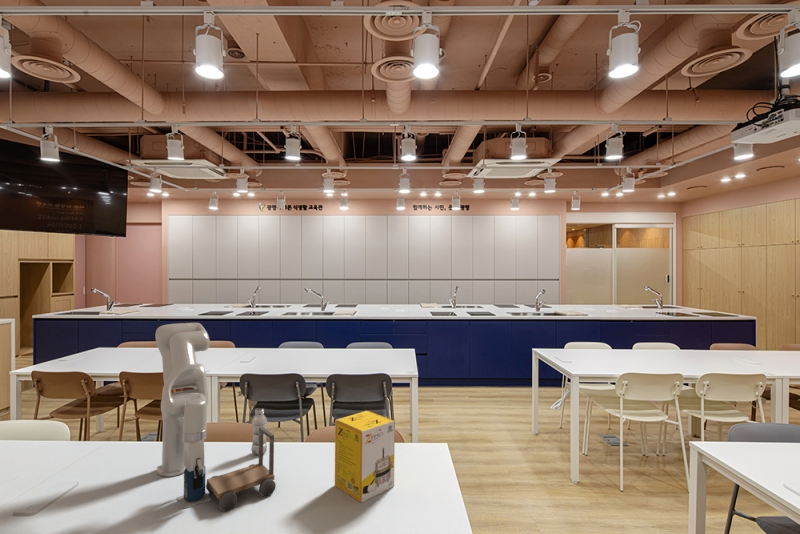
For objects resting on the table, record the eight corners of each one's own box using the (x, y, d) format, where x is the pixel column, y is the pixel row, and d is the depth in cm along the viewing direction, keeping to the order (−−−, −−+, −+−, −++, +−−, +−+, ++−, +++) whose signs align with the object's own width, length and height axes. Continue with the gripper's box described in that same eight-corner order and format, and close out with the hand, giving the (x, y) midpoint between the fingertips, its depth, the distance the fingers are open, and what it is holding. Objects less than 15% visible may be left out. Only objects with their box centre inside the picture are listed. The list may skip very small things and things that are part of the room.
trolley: (219, 514, 135) (220, 452, 136) (205, 494, 147) (206, 437, 148) (276, 493, 148) (276, 437, 149) (258, 476, 160) (259, 424, 161)
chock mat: (176, 498, 144) (176, 497, 144) (203, 489, 150) (203, 488, 150) (183, 509, 138) (183, 508, 138) (210, 499, 144) (210, 499, 144)
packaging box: (367, 471, 165) (367, 410, 166) (394, 486, 154) (394, 420, 154) (334, 485, 154) (335, 420, 155) (361, 502, 142) (361, 431, 143)
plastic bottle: (262, 457, 177) (262, 412, 177) (248, 456, 178) (248, 411, 179) (269, 451, 183) (270, 407, 184) (256, 450, 185) (256, 406, 185)
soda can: (209, 493, 147) (209, 460, 147) (197, 504, 140) (198, 469, 140) (191, 492, 148) (192, 459, 148) (179, 502, 141) (179, 468, 141)
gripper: (177, 430, 149) (176, 477, 148) (189, 445, 136) (188, 496, 135) (199, 425, 153) (198, 470, 153) (213, 439, 140) (212, 489, 140)
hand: (194, 482), depth 144 cm, fingers open, 9 cm apart
